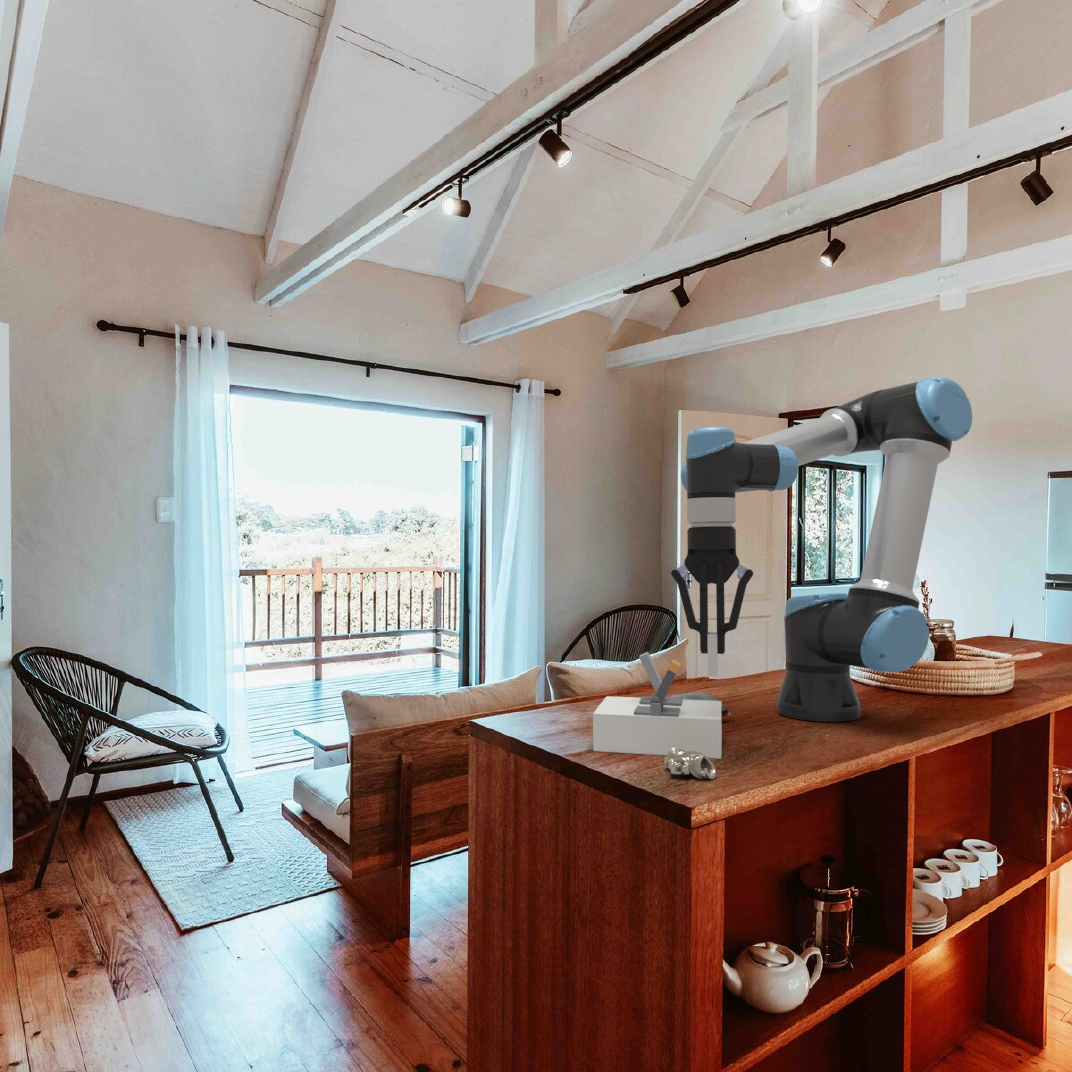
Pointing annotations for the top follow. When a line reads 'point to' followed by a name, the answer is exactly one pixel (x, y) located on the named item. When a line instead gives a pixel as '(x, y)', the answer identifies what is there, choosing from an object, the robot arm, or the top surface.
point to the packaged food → (702, 697)
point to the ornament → (690, 763)
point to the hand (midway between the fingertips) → (712, 674)
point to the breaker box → (657, 723)
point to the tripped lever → (666, 682)
